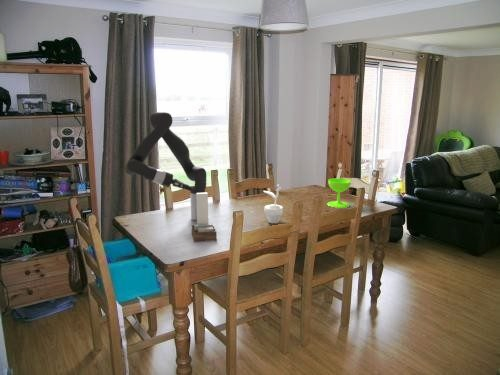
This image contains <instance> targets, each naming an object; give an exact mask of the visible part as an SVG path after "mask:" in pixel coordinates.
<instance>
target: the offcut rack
mask: <svg viewBox="0 0 500 375" xmlns="http://www.w3.org/2000/svg"><path fill="white" fill-rule="evenodd" d="M194 225H195V224H191V235H192V240H193V242H194V243H199V242H210V241H211V242H213V241H217V230H216V228H215V226H214V225H213V231H210V232H198V230H194Z"/></svg>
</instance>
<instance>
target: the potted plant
mask: <svg viewBox="0 0 500 375" xmlns="http://www.w3.org/2000/svg"><path fill="white" fill-rule="evenodd" d="M276 186H277V189H276V190H275V191H276V193H274V192H272V191H268V190H263V193H264V194H267V195H268V196H270V197H271V198H272V199H274V203H272V204H267V205H264V215H265V216H266V218H267V219H266V220H267V222H268V223H270V224H273V223H275V224H278V223H279V222H280V221H281V220H280V219H281V217H282V215H283V214H284V206H283V205H279V204H277V200H278V199H277V198H278V197H279V196H280V195H279V193H280V190H281V189H282V187H281V184H279V183H277V184H276Z"/></svg>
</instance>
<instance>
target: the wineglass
mask: <svg viewBox="0 0 500 375" xmlns="http://www.w3.org/2000/svg"><path fill="white" fill-rule="evenodd" d="M327 182H328V186H329V188H330V189H331V190H332V191H333V192H336V193H337V195H336V196H337V197H336V200H332V201H328V202H326V206H327V205H328V207H329V206H331V207H330V208H332V207H335V208H334V209H348V208H350V207H349V205H350V204H349V203H348V202H347V201H346V202H345V201H341V193H343V192H345V191H347V190H348V189H349V188H350V186H351V185H352V180H350V179H348V178H339V177H337V178H329V179H328V181H327ZM347 207H348V208H347Z"/></svg>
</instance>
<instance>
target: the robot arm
mask: <svg viewBox="0 0 500 375" xmlns="http://www.w3.org/2000/svg"><path fill="white" fill-rule="evenodd" d="M149 121H150V124H151V127H152V128H153V130H152V131H151V132H150V133H149V134H147V136H145V137H144V138H143V139H142V140H141V141H140V142H139V144H138V145H137V147H136V148H135V150H134V152H133V154H132V155H131V157H130V158H129V160H128V161H127V162H126V164H125V166H124V171H125V173H126V174H128V175H130V176H133V175H134V176H135V175H140V176H141V177H142V178H143V179H145V180H147V181H151V182H153V183H155V184H157V185H160V186H163V187H166V188H169V187H170V186H171V185H172V186H173V187H174V188H179V189H182V190H187V191H189V193H190V197H189V198H190V219H191V220H192V221H197V200H196V193H205V192H206V187H207V171H206V169H205V168H204V167H199V166H195V164H194V163H193V162H192V160H191V159H190V158H191V157H190V149H189V147H188V146H187V144H186V143H185V141H184V140H183V139H182V138H181V137H179V136H178V135H177V134H176V133H174V131H172V129H171V127H172V125H173V121H174V120H173V117H172V115H171V113H169V112H164V111H163V112H161V111H158V112H154V113H152V114H151V115H150V118H149ZM161 138H162V140H163V142H164V143H165V144H166V146H167V147H168V148H169V150H170V151H171V153H172V155H173V156H174V157H175V159H176V161H177V162H178V163H179V164H180V166H181V167H182V169H183V171H184V173H185V175H186V177H187V179H189V180H190V181H192V182H194V185H193V186H190V185H189V184H186V183H184V182H183V181H180V180H179V179H176V178H174V175H173V173H169V172H167V171H165V170H163V169H157V168H155V167H152V166H149V165H147V164H146V163H144V161H146V159H147V158H148V156H149V155H150V153H151V152H152V150H153V148H154V147H155V145H156V144H157V143H158V142H159V141H160V139H161Z"/></svg>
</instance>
